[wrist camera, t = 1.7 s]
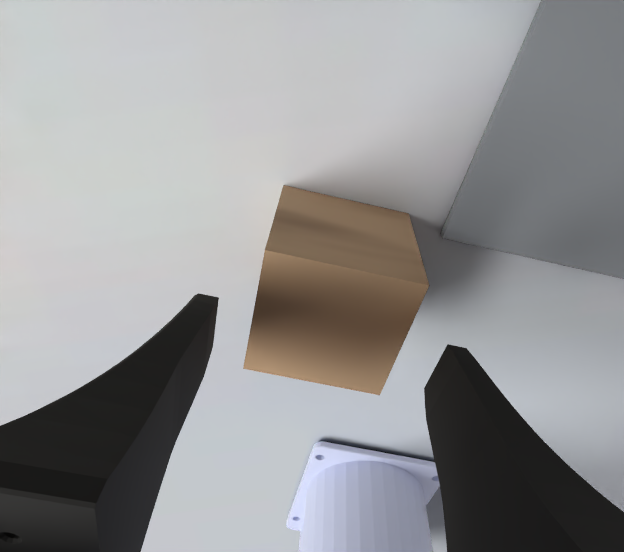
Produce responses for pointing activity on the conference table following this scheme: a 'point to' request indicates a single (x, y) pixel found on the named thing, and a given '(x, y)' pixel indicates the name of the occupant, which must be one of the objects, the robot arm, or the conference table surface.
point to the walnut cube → (335, 292)
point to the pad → (554, 146)
